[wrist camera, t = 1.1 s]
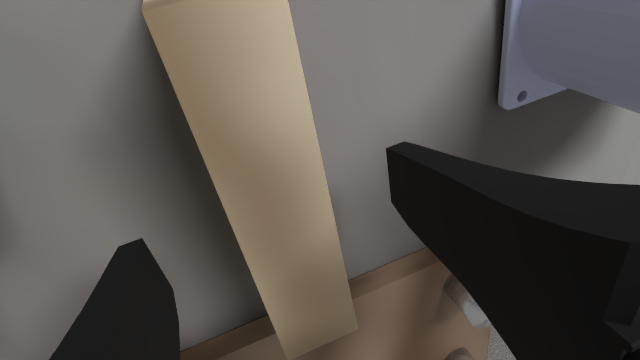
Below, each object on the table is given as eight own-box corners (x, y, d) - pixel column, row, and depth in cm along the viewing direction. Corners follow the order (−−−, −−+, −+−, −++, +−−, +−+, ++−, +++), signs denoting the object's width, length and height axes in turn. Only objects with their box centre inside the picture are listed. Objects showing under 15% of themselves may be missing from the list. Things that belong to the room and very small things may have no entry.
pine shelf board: (238, -37, 12) (282, -25, 8) (314, 245, 19) (358, 328, 15) (145, -14, 11) (142, 12, 7) (257, 268, 18) (287, 361, 14)
